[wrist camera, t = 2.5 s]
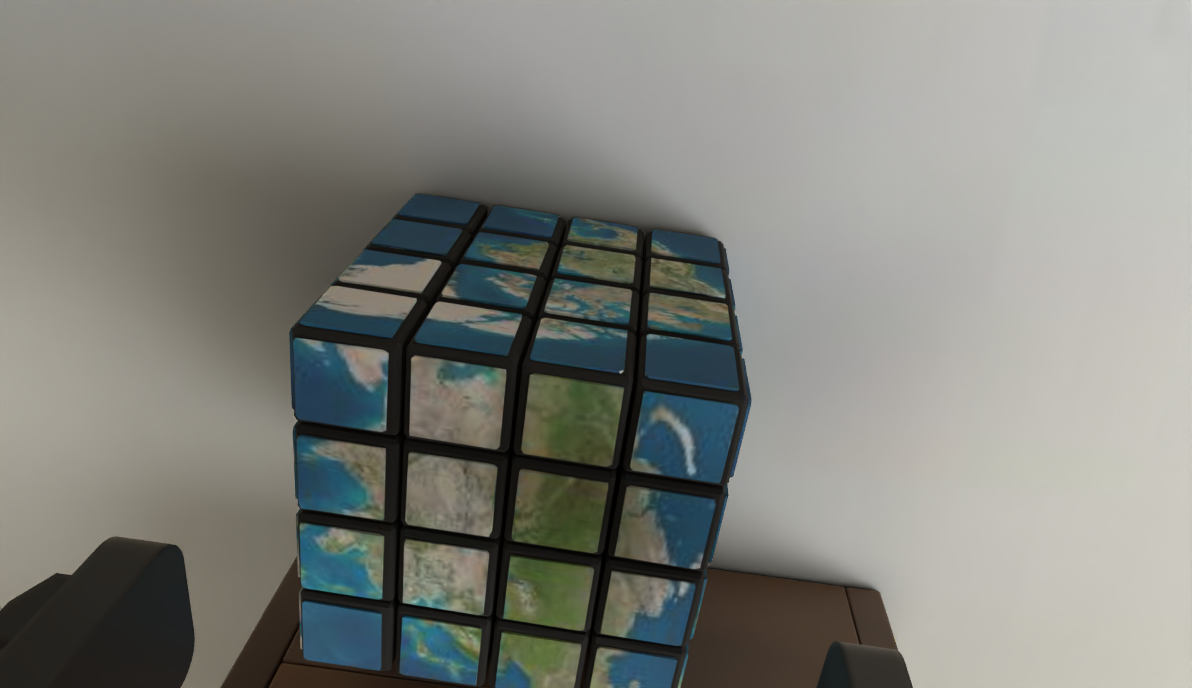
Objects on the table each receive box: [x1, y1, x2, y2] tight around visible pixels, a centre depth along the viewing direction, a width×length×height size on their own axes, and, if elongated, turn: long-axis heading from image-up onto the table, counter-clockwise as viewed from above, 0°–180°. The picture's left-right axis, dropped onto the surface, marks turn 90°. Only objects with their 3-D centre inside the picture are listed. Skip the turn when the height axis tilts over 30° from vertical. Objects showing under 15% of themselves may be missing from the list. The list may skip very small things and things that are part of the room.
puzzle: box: [289, 194, 751, 688], centre depth 15 cm, size 6×6×6 cm
